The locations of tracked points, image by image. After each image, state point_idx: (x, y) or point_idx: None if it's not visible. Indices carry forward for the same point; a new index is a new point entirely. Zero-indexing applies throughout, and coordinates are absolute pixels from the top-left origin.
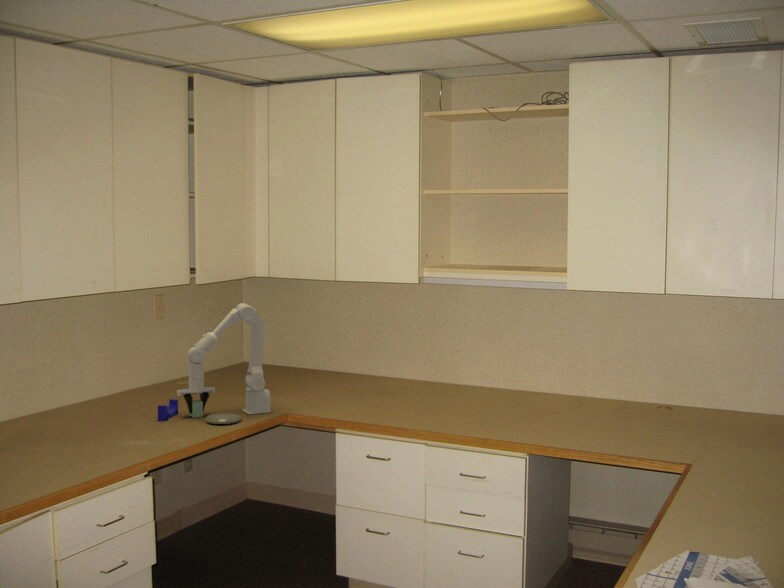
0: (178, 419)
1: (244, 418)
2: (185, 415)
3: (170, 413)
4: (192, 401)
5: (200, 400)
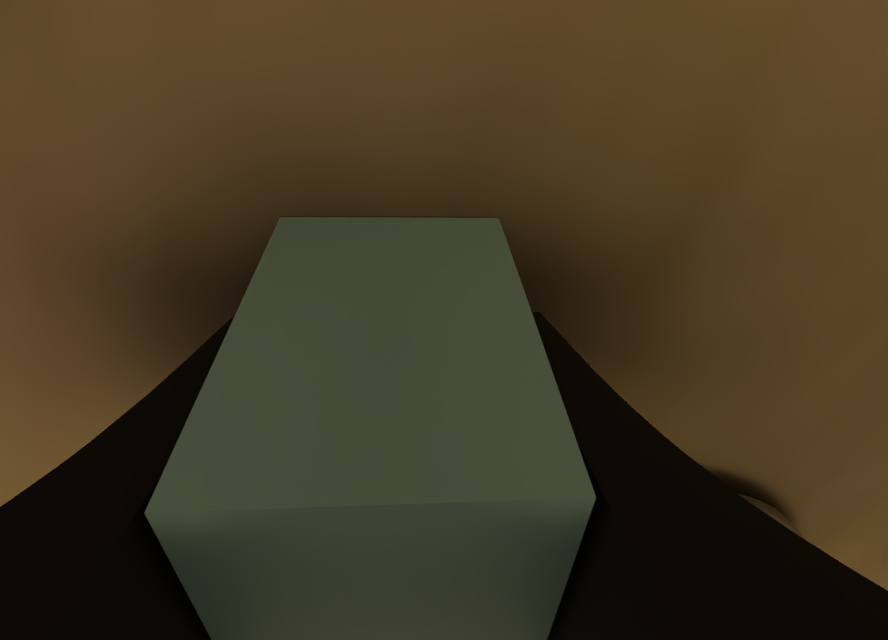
0: (52, 381)
1: (844, 559)
2: (183, 162)
3: None
4: (249, 611)
5: (549, 582)
